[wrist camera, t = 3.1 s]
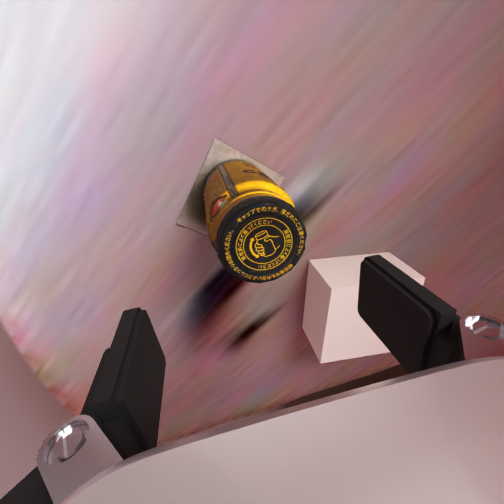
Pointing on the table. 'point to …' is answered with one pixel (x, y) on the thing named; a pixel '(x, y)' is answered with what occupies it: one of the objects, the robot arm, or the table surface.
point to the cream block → (341, 308)
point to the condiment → (245, 215)
